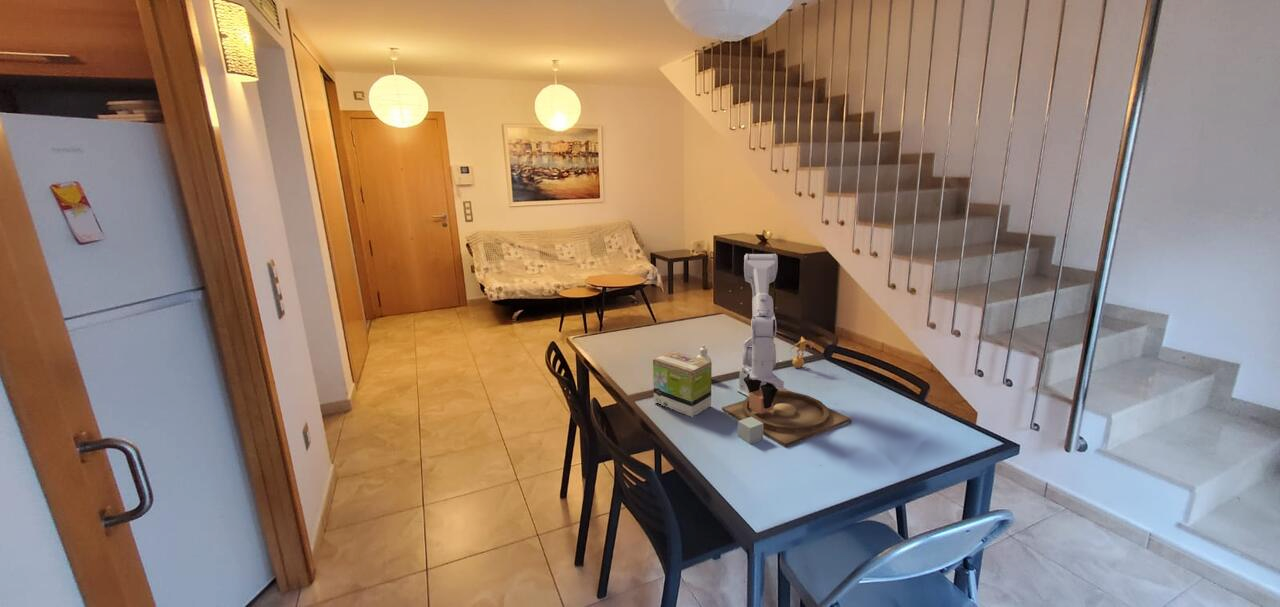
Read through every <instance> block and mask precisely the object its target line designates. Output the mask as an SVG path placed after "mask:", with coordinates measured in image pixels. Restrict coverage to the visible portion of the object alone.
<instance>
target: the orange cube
mask: <svg viewBox="0 0 1280 607" xmlns="http://www.w3.org/2000/svg"><path fill="white" fill-rule="evenodd" d="M749 408H750V409H752V410H754V411H756V412H758V413H760V414H762V413H765V412H768V411H771V410H773V402H772V405H771V407H770V408H767V409H766V408H764V403H763V393H762V389H761V390H757V391H754V392H751V393H749Z"/></svg>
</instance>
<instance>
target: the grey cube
mask: <svg viewBox="0 0 1280 607" xmlns="http://www.w3.org/2000/svg"><path fill="white" fill-rule="evenodd" d="M737 438H739V439H741V440H742V441H744V442H745V443H747V444H749V445H751V444H754V443H757V442H759V441H761V440H763V439H764V435H763V423H762V422H760V421H758V420H756V419H755V418H753V417H749V418H746V419H743V420H740V421H739V420H738V421H737Z"/></svg>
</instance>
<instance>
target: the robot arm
mask: <svg viewBox="0 0 1280 607" xmlns="http://www.w3.org/2000/svg"><path fill="white" fill-rule="evenodd" d="M743 261H744V262H743V273H744V274H743V275H744V281H745V282H746V283H749V284H750V287H751V290H752V300H751V303H752V304H751V306H752V307H751V309H752V318H751V320H750V321H751V322H750V335H751V336H750V337H748V338H747V339H745V341H744V342H743V344H742V345H743V347H742V366H741V367H740V370H739V380H738V381H739V382H738V383H739V386H738V387H739V388H737V390H736V391H737V392H738V393H739V394H742V395H744V396H746V397H747V398H748V397H749V393H751V392H754V391H757V390H761V389H762V393H763V403H764V408H766V409H767V408H770V407H771V405H772V402H773V399H774V397H775V395H776V393H777V391H778V390H779V389H782V388H785V386H784V384H785V381H783V380H782V379H780V378H779V377H778V376H777V375H776V374H774V373H773V370H774V368H775V367H776V365H777V349H776V344H775V343H776V342H775V338H776V335H777V319H776V316H775V312H774V300H773V297H772V296H771V295H770V294H769V290H770V289H769V288H770V284H771V283H773V282H775V280H776V278H777V274H778V268H779V267H778V264H779V261H778V254H776V252H775V253H745V255H744V257H743Z"/></svg>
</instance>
